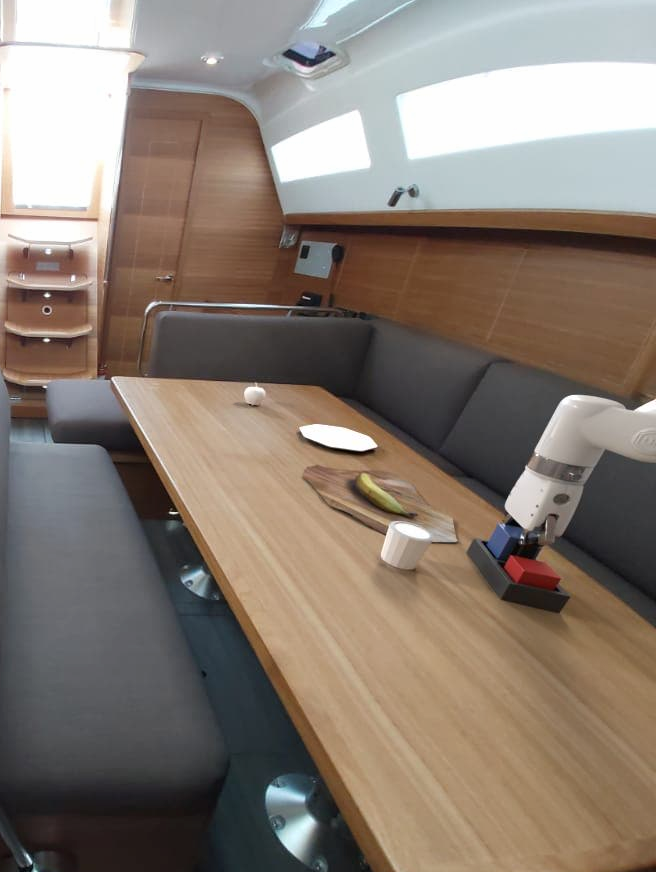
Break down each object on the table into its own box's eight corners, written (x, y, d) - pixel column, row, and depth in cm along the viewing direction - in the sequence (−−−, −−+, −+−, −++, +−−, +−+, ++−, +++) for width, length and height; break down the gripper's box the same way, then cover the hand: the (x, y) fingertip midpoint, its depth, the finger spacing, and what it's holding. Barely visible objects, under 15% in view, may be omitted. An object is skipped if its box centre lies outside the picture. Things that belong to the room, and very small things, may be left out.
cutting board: (289, 464, 135) (293, 451, 133) (395, 472, 132) (401, 459, 131) (352, 535, 104) (359, 519, 102) (493, 548, 101) (502, 533, 99)
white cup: (425, 575, 92) (440, 544, 89) (383, 566, 94) (396, 536, 91) (412, 554, 98) (426, 524, 95) (372, 547, 100) (384, 517, 97)
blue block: (518, 551, 95) (531, 529, 93) (531, 566, 91) (545, 543, 88) (486, 545, 96) (497, 523, 94) (497, 559, 92) (510, 536, 90)
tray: (516, 562, 97) (525, 547, 95) (559, 613, 84) (570, 596, 82) (466, 552, 100) (474, 537, 98) (500, 599, 87) (509, 583, 85)
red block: (532, 584, 90) (545, 562, 87) (546, 601, 85) (561, 578, 83) (497, 577, 91) (510, 554, 89) (510, 593, 87) (524, 570, 85)
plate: (382, 458, 141) (384, 454, 140) (306, 447, 146) (307, 443, 145) (362, 434, 158) (364, 430, 157) (294, 425, 163) (296, 421, 162)
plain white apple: (244, 399, 186) (249, 379, 183) (264, 403, 183) (270, 382, 179) (240, 404, 181) (245, 383, 178) (260, 408, 178) (266, 387, 174)
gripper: (619, 493, 77) (559, 586, 85) (559, 453, 91) (513, 536, 99) (557, 483, 80) (504, 575, 87) (508, 446, 94) (467, 527, 102)
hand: (509, 553), depth 93 cm, fingers closed on blue block, 5 cm apart
